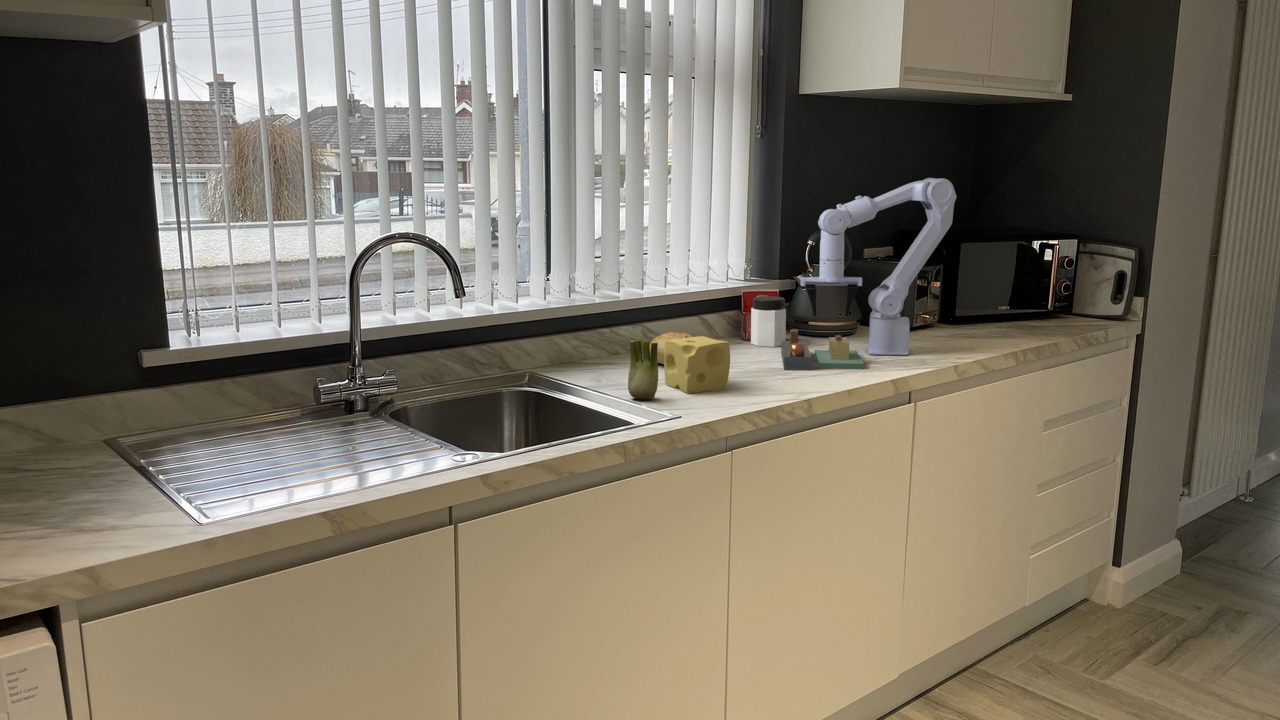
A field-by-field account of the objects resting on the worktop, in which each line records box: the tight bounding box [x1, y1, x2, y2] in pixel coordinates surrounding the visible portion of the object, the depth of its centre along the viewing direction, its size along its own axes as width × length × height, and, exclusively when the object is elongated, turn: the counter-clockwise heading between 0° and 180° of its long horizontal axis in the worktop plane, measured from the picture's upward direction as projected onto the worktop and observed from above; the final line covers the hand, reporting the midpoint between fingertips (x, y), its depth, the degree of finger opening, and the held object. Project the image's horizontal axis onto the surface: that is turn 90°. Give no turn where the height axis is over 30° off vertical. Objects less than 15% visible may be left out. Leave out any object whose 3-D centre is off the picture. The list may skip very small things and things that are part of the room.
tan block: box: [828, 334, 850, 360], centre depth 228 cm, size 7×4×5 cm, turn 174°
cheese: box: [663, 335, 731, 395], centre depth 204 cm, size 10×11×10 cm
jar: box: [750, 295, 787, 348], centre depth 251 cm, size 9×8×12 cm
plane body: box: [780, 329, 812, 371], centre depth 230 cm, size 20×6×6 cm, turn 174°
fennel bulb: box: [627, 339, 659, 401], centre depth 194 cm, size 6×5×12 cm
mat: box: [814, 349, 865, 370], centre depth 229 cm, size 10×16×1 cm, turn 174°
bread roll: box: [649, 331, 693, 365], centre depth 226 cm, size 10×15×8 cm, turn 40°
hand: (830, 315), depth 238 cm, fingers open, 7 cm apart
